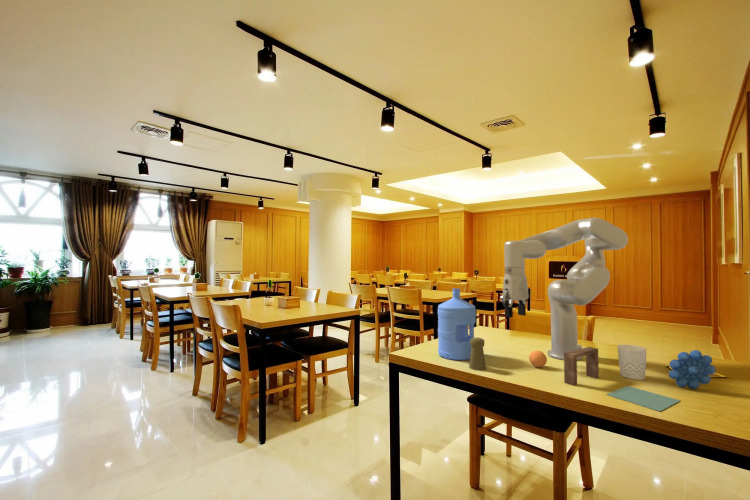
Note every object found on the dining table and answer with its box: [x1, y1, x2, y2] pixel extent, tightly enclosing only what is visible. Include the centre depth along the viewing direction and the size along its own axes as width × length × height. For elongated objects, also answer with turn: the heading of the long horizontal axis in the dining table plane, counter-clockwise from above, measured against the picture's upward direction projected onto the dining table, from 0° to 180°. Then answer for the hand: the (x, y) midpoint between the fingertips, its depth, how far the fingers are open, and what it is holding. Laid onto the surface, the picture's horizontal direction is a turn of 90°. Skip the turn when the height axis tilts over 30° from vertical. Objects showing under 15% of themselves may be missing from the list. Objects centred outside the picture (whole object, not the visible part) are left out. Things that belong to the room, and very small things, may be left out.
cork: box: [468, 337, 487, 371], centre depth 126 cm, size 6×6×11 cm
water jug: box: [437, 288, 477, 361], centre depth 143 cm, size 16×16×28 cm
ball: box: [528, 350, 548, 368], centre depth 127 cm, size 6×6×6 cm
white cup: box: [617, 344, 647, 381], centre depth 116 cm, size 8×8×10 cm
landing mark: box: [606, 385, 681, 412], centre depth 98 cm, size 13×13×1 cm
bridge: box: [563, 346, 600, 386], centre depth 113 cm, size 3×15×10 cm, turn 120°
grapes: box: [668, 349, 717, 390], centre depth 106 cm, size 12×7×12 cm, turn 71°
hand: (515, 315), depth 135 cm, fingers open, 7 cm apart
